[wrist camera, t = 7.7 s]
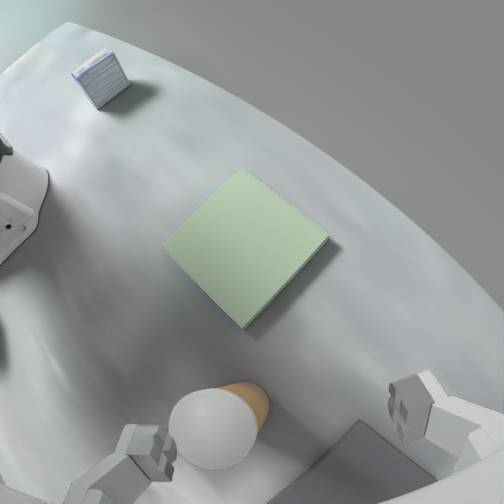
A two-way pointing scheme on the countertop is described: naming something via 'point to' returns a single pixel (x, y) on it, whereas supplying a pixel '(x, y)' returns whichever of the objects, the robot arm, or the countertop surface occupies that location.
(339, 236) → the countertop surface
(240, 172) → the tile
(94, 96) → the medicine box
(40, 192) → the robot arm
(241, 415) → the pill bottle
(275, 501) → the tile
